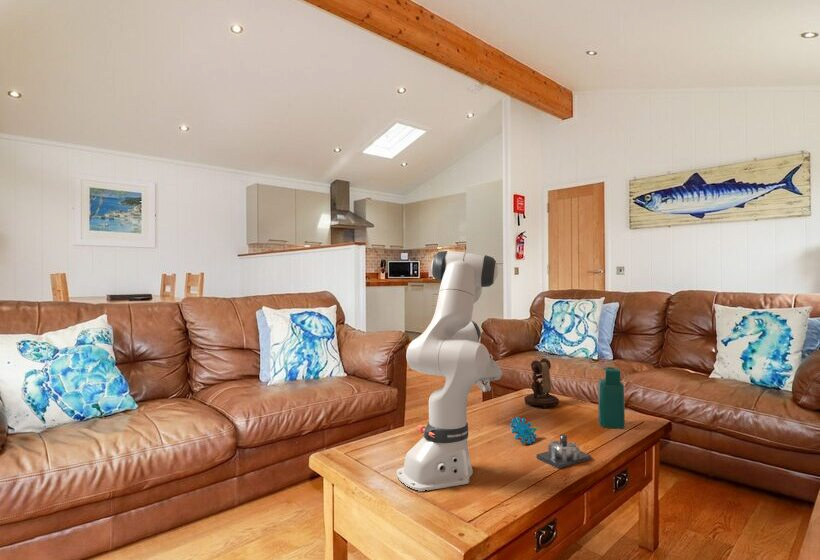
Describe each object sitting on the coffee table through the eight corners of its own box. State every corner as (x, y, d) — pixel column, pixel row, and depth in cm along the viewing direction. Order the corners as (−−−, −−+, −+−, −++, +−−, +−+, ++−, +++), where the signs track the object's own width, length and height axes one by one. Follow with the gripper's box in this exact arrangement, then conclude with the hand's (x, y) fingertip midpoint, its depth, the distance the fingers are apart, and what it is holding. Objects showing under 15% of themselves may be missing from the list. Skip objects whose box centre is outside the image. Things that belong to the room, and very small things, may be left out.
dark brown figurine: (546, 411, 186) (546, 364, 186) (517, 404, 197) (517, 359, 197) (565, 404, 195) (565, 359, 195) (536, 397, 207) (536, 355, 207)
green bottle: (597, 420, 173) (597, 364, 173) (621, 422, 171) (620, 365, 171) (601, 429, 164) (600, 369, 164) (626, 430, 162) (625, 370, 161)
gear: (519, 443, 147) (507, 415, 154) (509, 451, 150) (499, 424, 157) (544, 442, 152) (532, 415, 158) (535, 450, 155) (523, 424, 162)
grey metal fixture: (558, 469, 131) (558, 444, 131) (536, 458, 138) (536, 435, 138) (591, 459, 137) (590, 436, 137) (568, 449, 145) (568, 427, 145)
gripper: (453, 359, 172) (468, 389, 164) (494, 354, 182) (511, 382, 173) (447, 368, 176) (462, 398, 168) (488, 363, 186) (503, 391, 177)
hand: (487, 390), depth 171 cm, fingers closed
